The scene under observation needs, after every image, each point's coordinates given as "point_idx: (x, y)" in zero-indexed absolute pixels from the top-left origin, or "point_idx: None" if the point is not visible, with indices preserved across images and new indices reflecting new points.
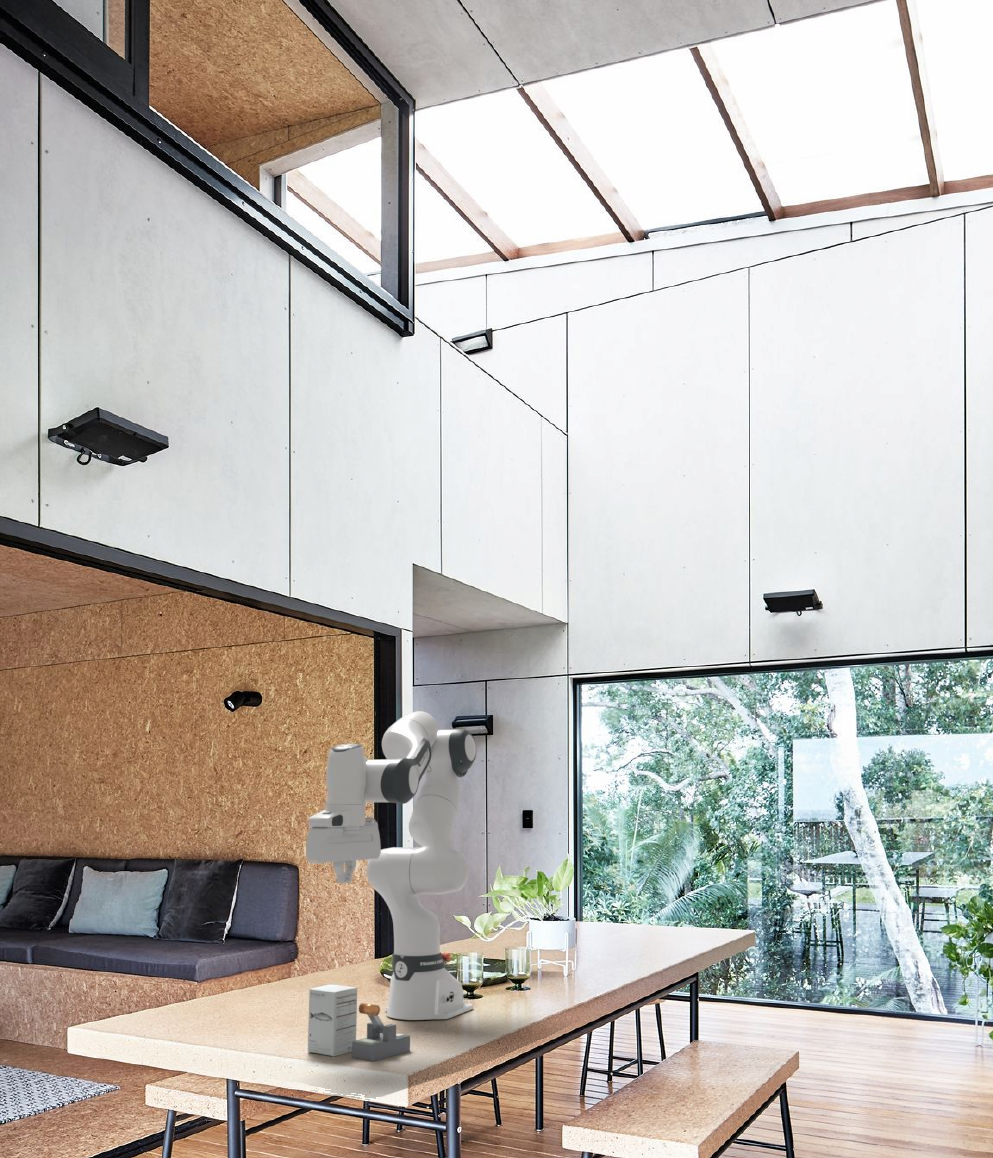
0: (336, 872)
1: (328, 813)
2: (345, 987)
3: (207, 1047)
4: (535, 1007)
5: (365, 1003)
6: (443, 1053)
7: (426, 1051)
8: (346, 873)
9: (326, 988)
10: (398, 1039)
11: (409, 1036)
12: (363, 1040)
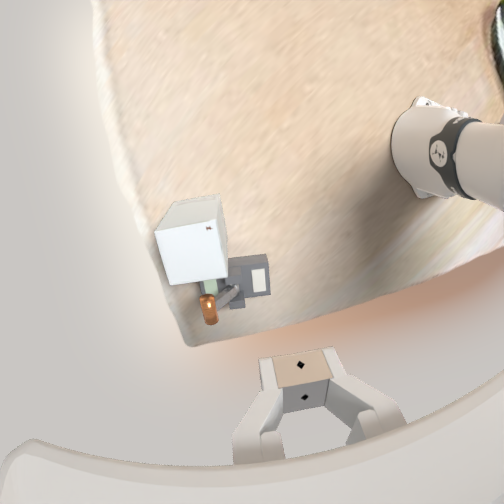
0: (252, 406)
1: None
2: (208, 267)
3: (104, 83)
4: (483, 230)
5: (208, 306)
6: (281, 315)
7: (277, 298)
8: (328, 391)
9: (176, 254)
10: (248, 296)
11: (269, 294)
12: (207, 280)
